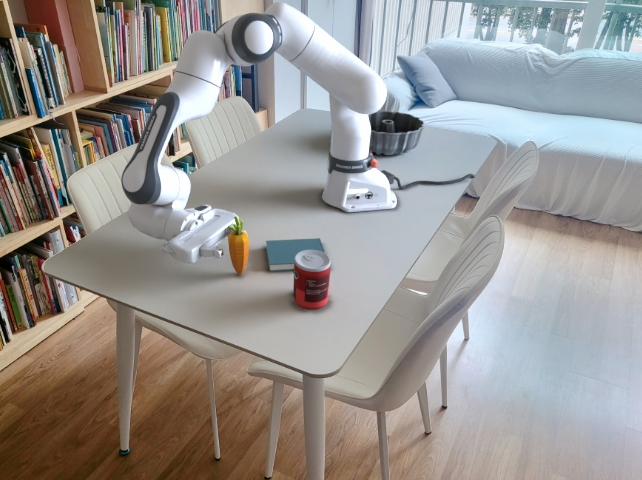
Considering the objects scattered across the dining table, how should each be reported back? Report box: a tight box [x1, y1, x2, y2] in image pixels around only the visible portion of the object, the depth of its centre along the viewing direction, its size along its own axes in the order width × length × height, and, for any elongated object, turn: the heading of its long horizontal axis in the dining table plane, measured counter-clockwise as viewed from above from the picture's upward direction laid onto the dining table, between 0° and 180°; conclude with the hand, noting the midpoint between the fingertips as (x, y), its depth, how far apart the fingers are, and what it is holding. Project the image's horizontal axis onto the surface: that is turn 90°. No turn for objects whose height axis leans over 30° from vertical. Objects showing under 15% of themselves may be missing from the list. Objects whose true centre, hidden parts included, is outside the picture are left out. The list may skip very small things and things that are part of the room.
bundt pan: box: [368, 110, 425, 156], centre depth 192 cm, size 26×26×10 cm
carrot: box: [227, 215, 250, 276], centre depth 120 cm, size 5×5×15 cm
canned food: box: [292, 250, 332, 311], centre depth 114 cm, size 8×8×11 cm
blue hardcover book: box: [265, 237, 326, 273], centre depth 130 cm, size 14×11×2 cm
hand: (233, 244), depth 121 cm, fingers open, 8 cm apart
